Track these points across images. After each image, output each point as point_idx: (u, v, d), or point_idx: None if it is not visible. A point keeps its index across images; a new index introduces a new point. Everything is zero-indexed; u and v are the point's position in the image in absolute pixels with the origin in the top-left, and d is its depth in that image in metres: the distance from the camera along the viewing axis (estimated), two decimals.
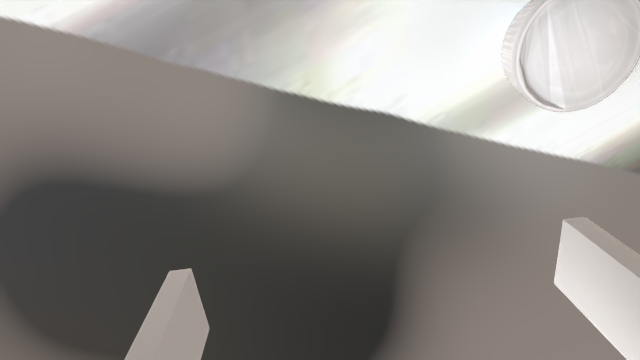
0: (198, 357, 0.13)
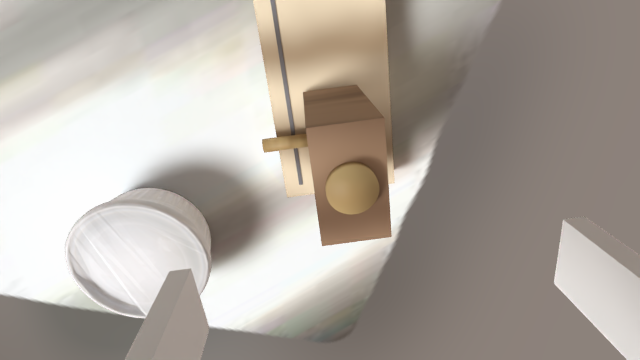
0: (198, 357, 0.13)
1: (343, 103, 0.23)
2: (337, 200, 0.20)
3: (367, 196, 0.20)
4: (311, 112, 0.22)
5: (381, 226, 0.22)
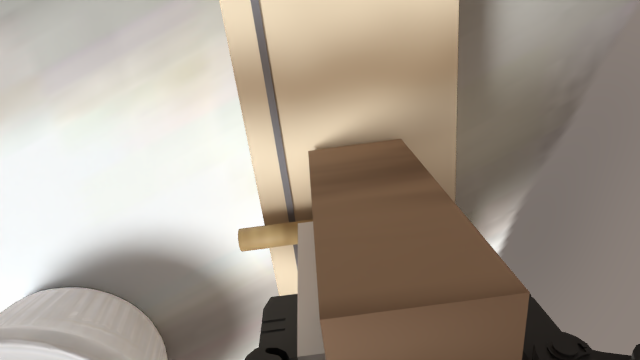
0: None
1: (393, 201, 0.11)
2: None
3: None
4: (329, 231, 0.10)
5: None
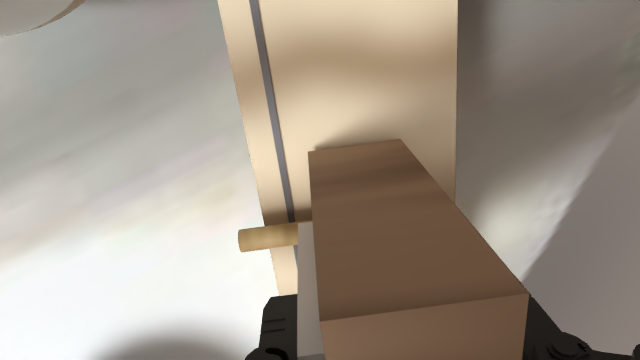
0: None
1: (393, 202, 0.11)
2: None
3: None
4: (328, 232, 0.10)
5: None
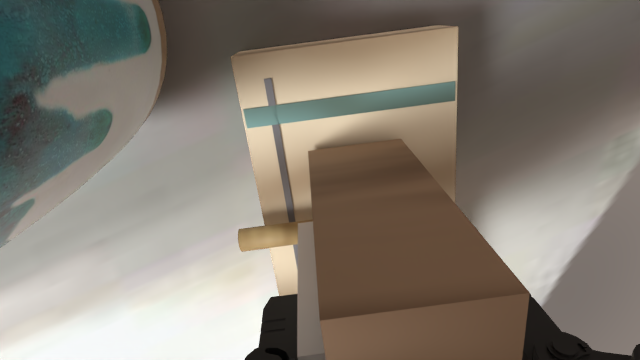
0: None
1: (393, 201, 0.11)
2: None
3: None
4: (329, 231, 0.10)
5: None
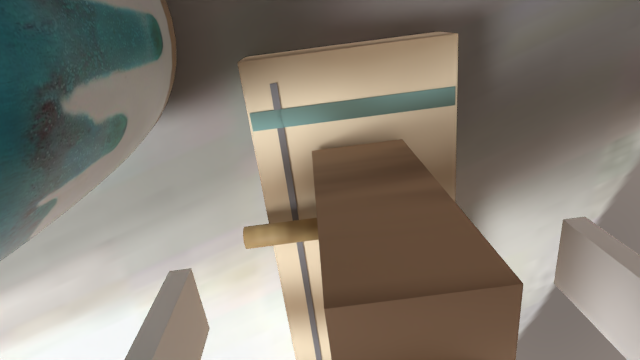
0: (198, 357, 0.13)
1: (394, 199, 0.12)
2: None
3: None
4: (332, 227, 0.11)
5: None
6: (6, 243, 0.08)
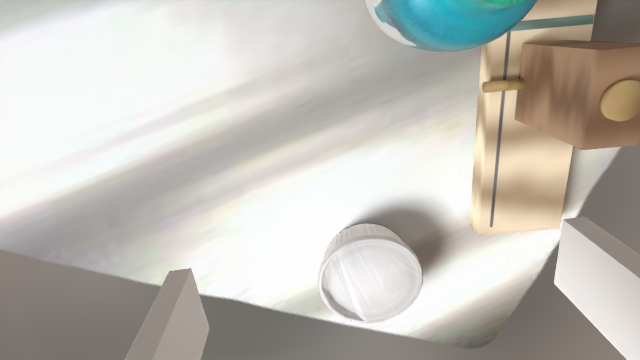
0: (198, 357, 0.13)
1: (591, 43, 0.30)
2: (612, 108, 0.27)
3: (634, 107, 0.27)
4: (575, 47, 0.29)
5: (631, 135, 0.28)
6: None
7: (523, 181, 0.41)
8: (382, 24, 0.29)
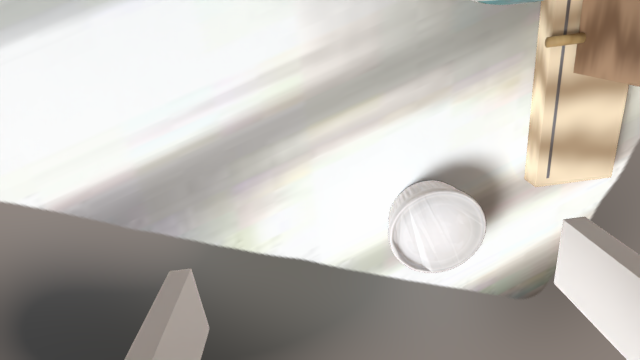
0: (198, 357, 0.13)
1: None
2: None
3: None
4: None
5: None
6: None
7: (579, 132, 0.43)
8: None
